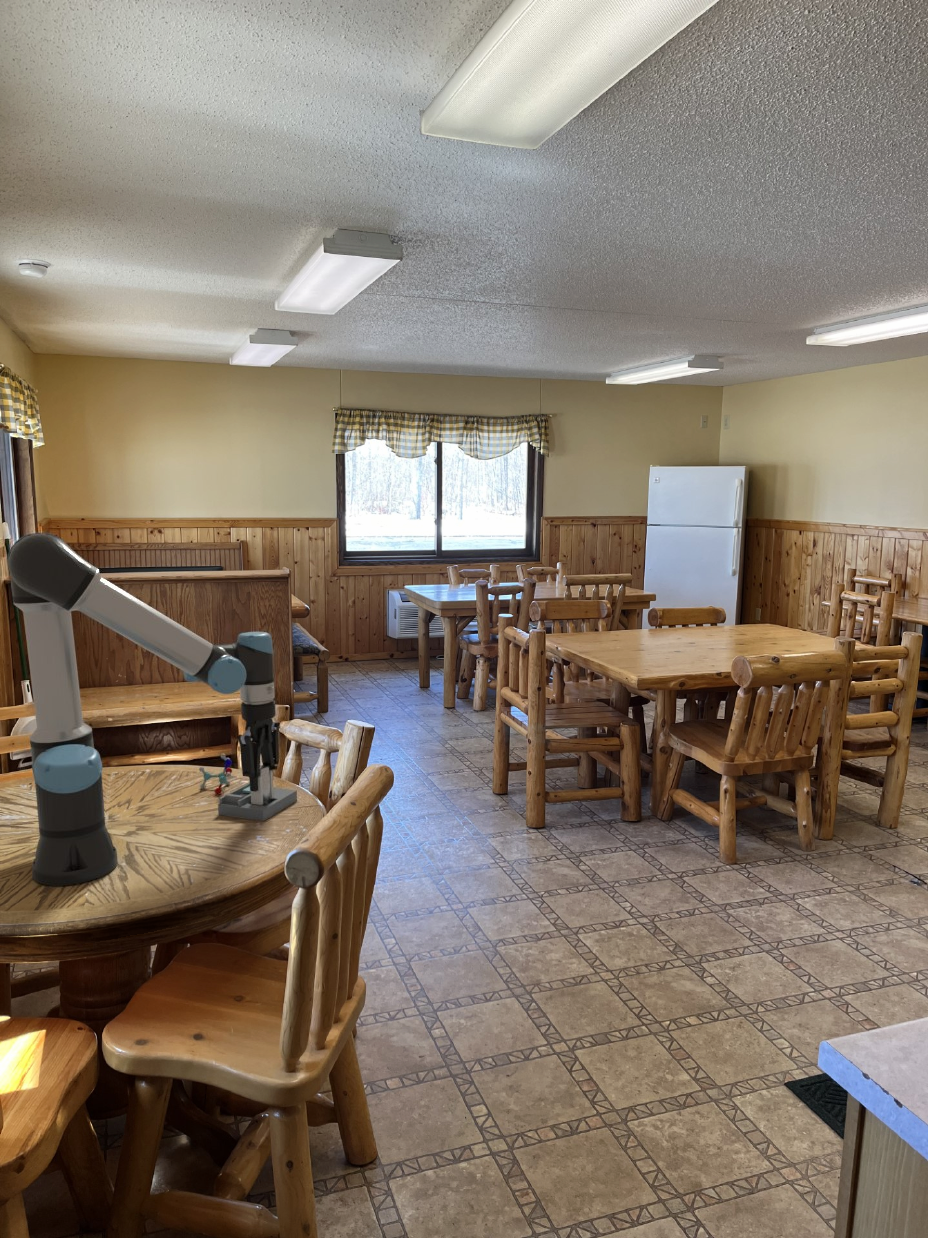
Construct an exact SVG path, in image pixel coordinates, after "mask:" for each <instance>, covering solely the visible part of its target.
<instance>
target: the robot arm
mask: <svg viewBox="0 0 928 1238" xmlns="http://www.w3.org/2000/svg"><path fill="white" fill-rule="evenodd" d="M6 561H7V568H8V571H9V579H10V588H11V594H12V601H13V602H12V603H13V605H14V606H16V607H17V608H18V609H19V610H21V611H22V614H23V615H22V616H23V621H24V622H23V623H24V630H25V637H26V640H25V641H26V646H27V648H26V649H27V655H28V664H29V672H30V682H31V690H32V697H33V706H34V715H35V723H36V728H35V730H34V731H33V733H31V735H30V736H29V744H30V752H31V762H32V763H31V769H32V775H33V780H34V787H35V794H36V796H35V797H36V808H37V819H38V820H37V821H38V832H39V838H38V842H37V846H36V850H35V858H34V859H33V861H32V864H31V874H32V875H31V876H32V879H33V881H35V882H36V883H38V884H40V885H44V886H51V887H56V886H57V887H60V886H61V887H62V886H72V885H78V884H84V883H88V882H91V881H94V880H97V879H99V878H102V877H104V876H105V875H108V874H109V873H111V872H112V871H113V870H114V869H115V868H116V867H117V866H118V851H117V848H116V847H115V845H114V844H113V839H112V838H111V835H110V833H109V831H108V828H107V826H106V815H105V803H104V802H105V801H104V789H103V786H104V785H103V775H102V774H103V762H102V760H101V755H100V753H99V751H98V750H97V749H95V746H94V737H93V728H92V727H91V726H90V725H88V724H87V723H85V722H84V719H83V710H82V709H83V708H82V701H81V691H80V683H79V672H78V665H77V657H76V646H75V639H74V638H75V636H74V628H73V620H72V619H73V617H72V612H73V611H78V612H80V613H82V614H84V615H85V616H88V617H90V618H91V619H92V620H95V621H97V622H98V623H100V624H101V625H103V626H105V627H106V628H108V629H110V630H112V631H114V632H115V633H117V634H119V635H120V636H123V637H124V638H126V639H128V640H129V641H131V642H133V643H134V644H136V645H138V646H140V647H141V648H143V649H145V650H147V651H148V652H150V653H152V654H153V655H155V656H157V657H159V658H160V659H162V660H164V661H165V662H167V663H169V664H171V665H173V666H174V667H176V668H177V669H179V670H181V671H182V673H183V677H184V679H185V681H186V682H188V683H193V682H195V683H196V682H197V683H200V682H202V683H204V684H205V685H207V686H209V687H210V688H211V689H212V690H213V691H215V692H217V693H219V694H224V695H230V694H235V693H236V692H238V691H240V692H239V696H240V697H239V698H240V700H241V701H242V702H241V704H240V711H241V713H240V714H241V718H242V720H244V721H245V728H244V729H245V730H244V731H245V732H243V734H238V735H237V741H238V743H239V750H240V761H241V773H242V774H241V775H242V776H243V777H247V778H249V782H250V791H251V804H258V805H262V804H263V787H262V776H259V775H260V765H267V766H269V778H270V799H273V798H274V790H273V787H274V771H277V770H278V765H279V763H280V760H279V759H280V748H279V747H280V746H279V745H280V744H279V741H280V738H279V737H280V735H279V732H280V726H281V724H280V722H279V721H274V720H273V719H274V718H275V716H276V714H277V713H276V712H277V711H276V701H275V700H274V699H275V695H276V694H275V693H276V692H275V691H276V690H275V676H274V674H275V673H274V671H275V670H274V653H275V652H274V647H273V639H272V636H271V634H270V633H269V632H266V631H265V632H264V631H248V632H240V633H239V634H238V636H237V640H236V642H233V643H228V644H215V645H214V644H213V643H212V642H209V641H208V640H206V639H205V638H203V637H201V636H199V635H198V634H196V633H194V632H193V631H191V630H190V629H189V628H186V627H184V626H183V625H181V624H180V623H178V622H176V620H175V621H174V620H173V619H172V618H170V617H168V616H166V615H165V614H163V613H161V612H160V611H158V610H157V609H155V608H153V607H151V606H150V605H149V604H147V603H145V602H143V601H142V600H140V599H138V598H136V597H135V596H134V595H132V594H130V593H128V592H127V591H125V590H124V589H122V588H120V587H119V586H117V585H115V584H113V583H112V582H110V581H108V580H107V579H105V578H103V576H101V573H100V569H99V568H97V567H96V566H94V565H93V564H91V563H89V562H88V560H85V559H84V558H83V557H81V556H80V555H79V554H78V553H77V552H76V551H74V549H72V548H71V547H70V546H69V545H68V543H66V542H65V541H64V540H63V539H61V538H60V537H59V536H57V535H54V534H52V533H48V532H35V533H28V534H26V535H24V536H22V537H20V538H19V539H17V540H16V541H15V542H14V543H13V544H12V546H11V547H10V549H9V552H8V553H7V560H6Z"/></svg>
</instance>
